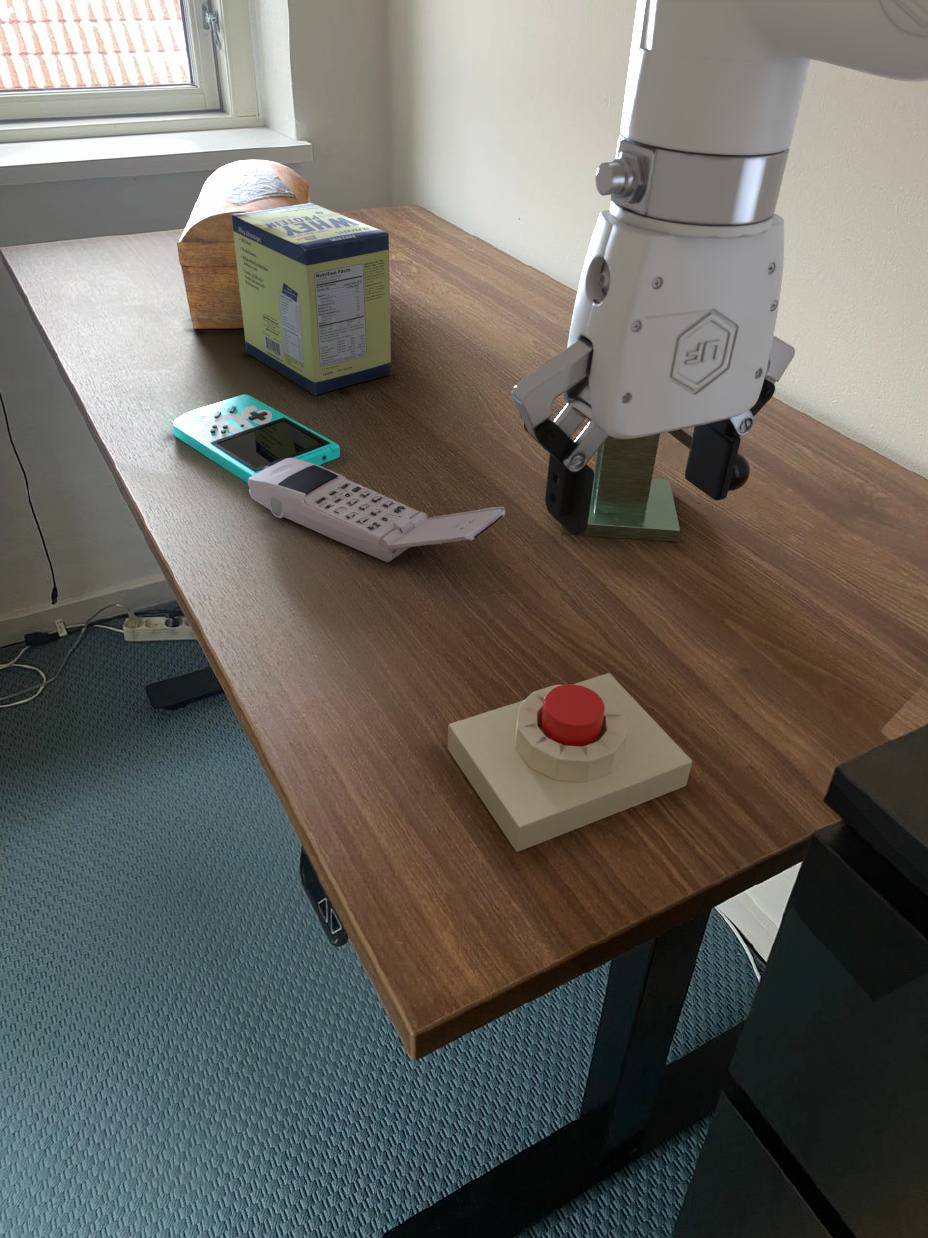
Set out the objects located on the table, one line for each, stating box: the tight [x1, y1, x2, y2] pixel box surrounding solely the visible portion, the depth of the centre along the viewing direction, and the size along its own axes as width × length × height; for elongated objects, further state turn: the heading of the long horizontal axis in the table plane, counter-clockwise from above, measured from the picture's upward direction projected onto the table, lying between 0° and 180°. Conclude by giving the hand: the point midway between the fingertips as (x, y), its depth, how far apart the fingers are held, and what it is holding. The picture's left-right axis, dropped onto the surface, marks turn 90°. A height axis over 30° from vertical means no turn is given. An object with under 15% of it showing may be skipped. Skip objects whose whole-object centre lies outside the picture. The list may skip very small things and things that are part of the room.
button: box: [541, 684, 605, 746], centre depth 55 cm, size 4×4×2 cm
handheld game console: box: [172, 393, 341, 484], centre depth 91 cm, size 10×16×1 cm, turn 45°
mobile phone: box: [247, 458, 506, 563], centre depth 77 cm, size 6×6×25 cm
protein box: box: [231, 202, 392, 396], centre depth 103 cm, size 10×16×16 cm
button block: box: [447, 672, 693, 853], centre depth 57 cm, size 12×9×4 cm
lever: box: [667, 428, 751, 492], centre depth 78 cm, size 14×3×3 cm
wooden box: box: [176, 159, 312, 330], centre depth 123 cm, size 30×16×14 cm, turn 6°
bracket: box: [560, 433, 681, 543], centre depth 79 cm, size 10×9×13 cm
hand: (637, 505), depth 53 cm, fingers open, 9 cm apart
